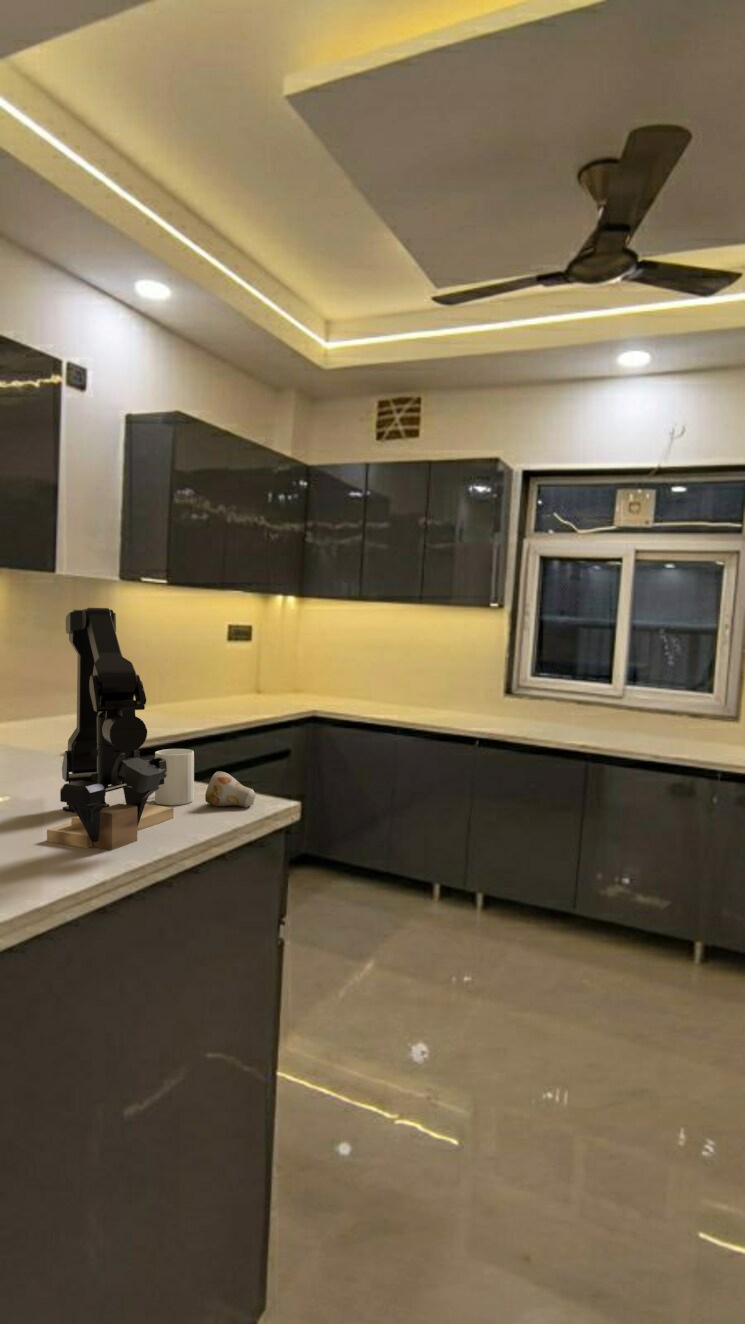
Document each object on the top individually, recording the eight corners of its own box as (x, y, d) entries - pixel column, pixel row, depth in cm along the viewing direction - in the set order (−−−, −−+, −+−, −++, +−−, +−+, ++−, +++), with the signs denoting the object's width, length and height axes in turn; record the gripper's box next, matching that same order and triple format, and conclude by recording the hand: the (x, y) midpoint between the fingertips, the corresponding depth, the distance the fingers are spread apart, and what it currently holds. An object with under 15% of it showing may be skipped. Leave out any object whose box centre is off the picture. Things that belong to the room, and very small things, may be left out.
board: (46, 841, 127) (46, 829, 127) (136, 812, 147) (136, 802, 147) (87, 848, 123) (87, 835, 123) (173, 818, 143) (173, 807, 143)
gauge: (63, 841, 127) (63, 806, 127) (89, 832, 132) (89, 799, 132) (112, 849, 123) (112, 813, 122) (137, 840, 128) (137, 805, 128)
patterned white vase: (253, 812, 150) (228, 770, 148) (215, 829, 153) (190, 788, 152) (266, 795, 157) (242, 755, 155) (230, 811, 160) (206, 772, 158)
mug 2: (193, 805, 154) (193, 754, 154) (153, 806, 153) (153, 755, 152) (194, 792, 166) (194, 745, 166) (157, 793, 164) (157, 746, 164)
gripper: (112, 755, 114) (112, 856, 114) (189, 739, 131) (188, 827, 131) (57, 749, 118) (57, 847, 119) (138, 734, 135) (138, 820, 136)
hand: (115, 834), depth 126 cm, fingers open, 9 cm apart
